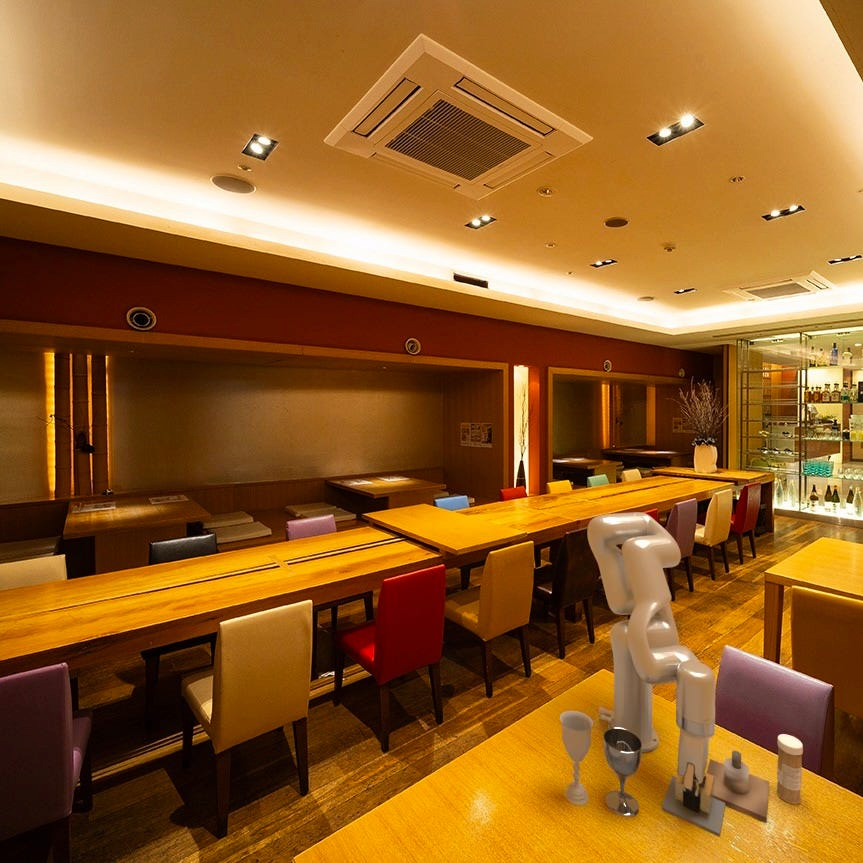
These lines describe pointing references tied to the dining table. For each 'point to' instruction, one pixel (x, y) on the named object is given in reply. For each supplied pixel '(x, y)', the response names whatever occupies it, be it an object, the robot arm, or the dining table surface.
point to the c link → (704, 790)
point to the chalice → (576, 750)
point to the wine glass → (622, 767)
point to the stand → (739, 787)
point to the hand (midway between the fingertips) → (694, 797)
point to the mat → (701, 819)
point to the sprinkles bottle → (789, 768)
